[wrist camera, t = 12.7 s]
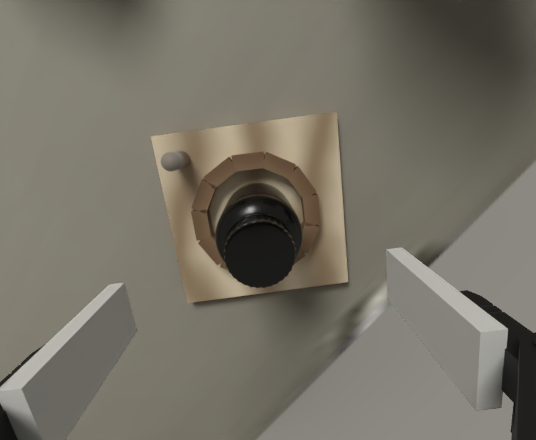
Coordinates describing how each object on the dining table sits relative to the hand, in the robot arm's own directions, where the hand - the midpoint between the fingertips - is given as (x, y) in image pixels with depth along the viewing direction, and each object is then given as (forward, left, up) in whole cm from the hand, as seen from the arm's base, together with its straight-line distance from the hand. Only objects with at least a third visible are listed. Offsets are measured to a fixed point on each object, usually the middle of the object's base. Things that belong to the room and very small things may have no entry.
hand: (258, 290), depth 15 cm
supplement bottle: (0, 0, -17) cm, 17 cm away
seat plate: (0, 0, -18) cm, 18 cm away
